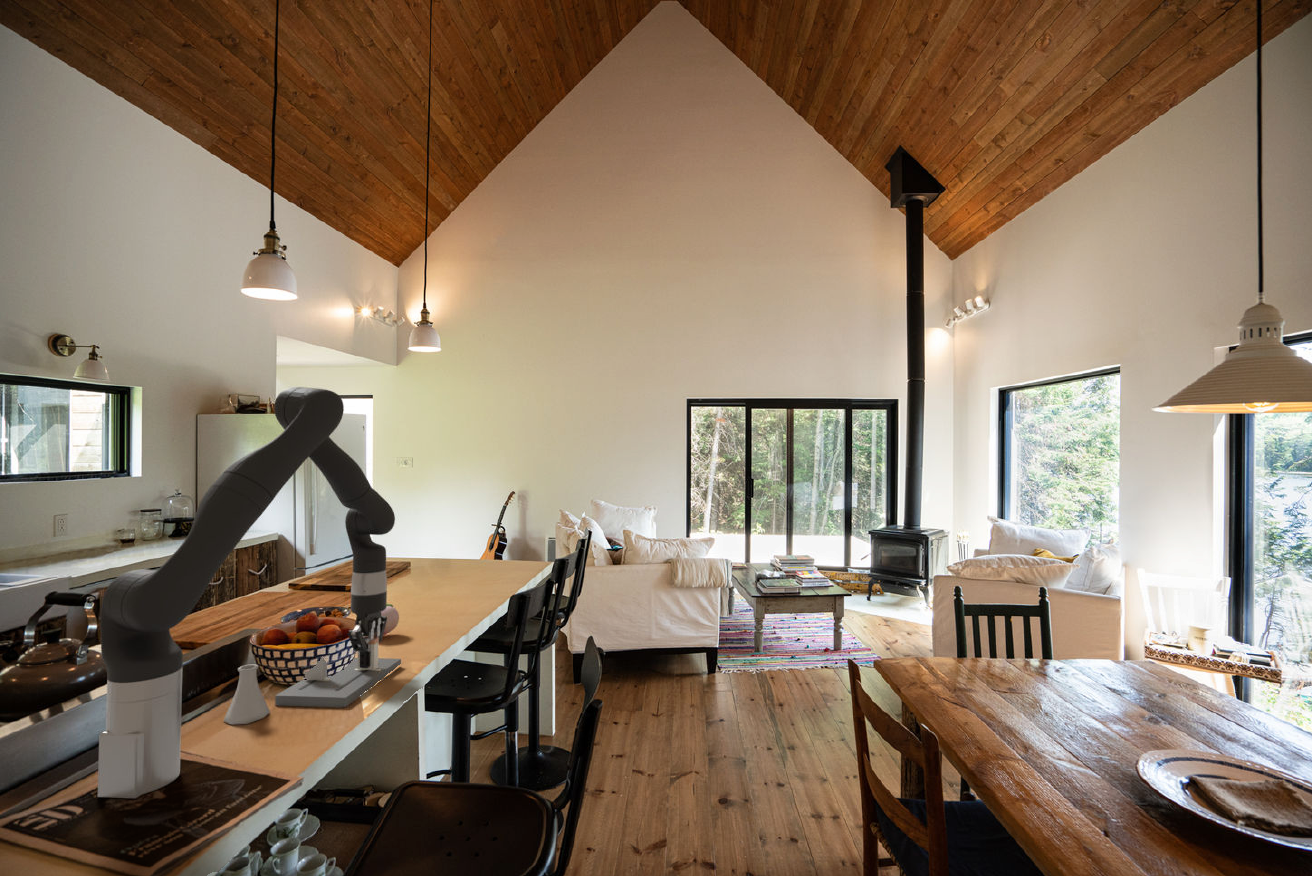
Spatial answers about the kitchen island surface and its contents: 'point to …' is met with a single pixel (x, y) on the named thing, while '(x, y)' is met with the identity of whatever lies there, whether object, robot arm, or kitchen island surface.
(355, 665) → the gray slotted board
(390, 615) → the decorative fruit
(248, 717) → the flask
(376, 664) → the fader
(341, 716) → the kitchen island surface
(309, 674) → the fader
